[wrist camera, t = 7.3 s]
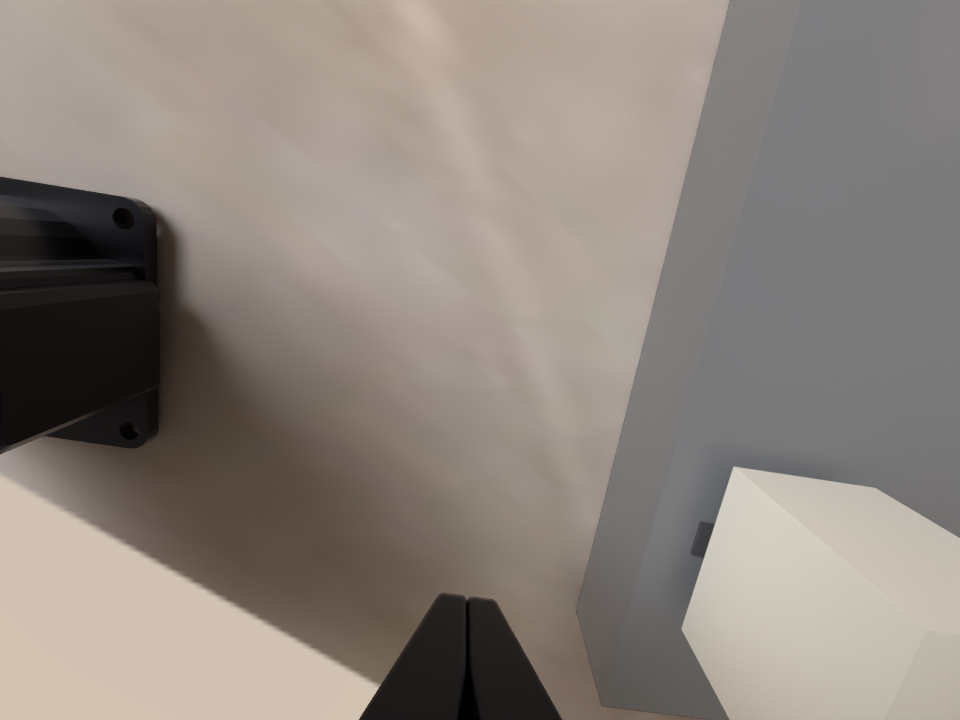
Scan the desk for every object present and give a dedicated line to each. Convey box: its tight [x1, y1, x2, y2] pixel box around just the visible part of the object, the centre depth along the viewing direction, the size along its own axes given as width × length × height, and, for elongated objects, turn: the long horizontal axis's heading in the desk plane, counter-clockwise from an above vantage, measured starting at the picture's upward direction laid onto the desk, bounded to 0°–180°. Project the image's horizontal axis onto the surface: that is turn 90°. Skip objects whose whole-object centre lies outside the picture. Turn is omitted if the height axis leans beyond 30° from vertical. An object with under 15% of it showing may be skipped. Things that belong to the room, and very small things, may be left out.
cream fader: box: [681, 466, 960, 720], centre depth 8 cm, size 3×4×4 cm
